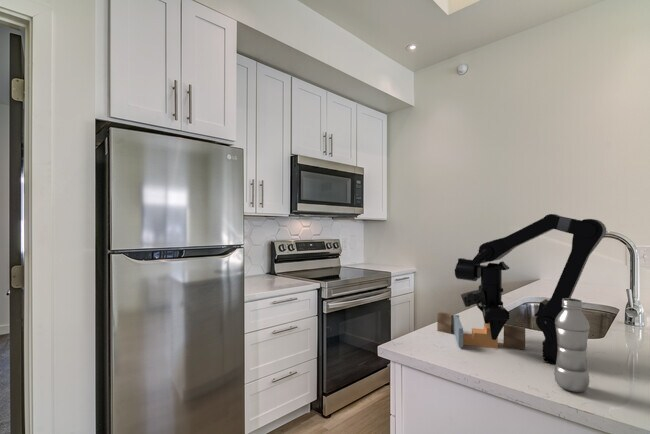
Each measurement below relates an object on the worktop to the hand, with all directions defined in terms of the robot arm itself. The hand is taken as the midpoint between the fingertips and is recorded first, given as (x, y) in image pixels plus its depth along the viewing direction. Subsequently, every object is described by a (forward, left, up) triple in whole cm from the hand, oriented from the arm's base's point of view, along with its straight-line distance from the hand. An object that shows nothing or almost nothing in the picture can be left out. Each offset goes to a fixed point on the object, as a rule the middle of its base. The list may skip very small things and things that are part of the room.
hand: (490, 334), depth 105 cm
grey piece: (+9, +3, -3) cm, 10 cm away
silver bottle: (-22, +17, -3) cm, 28 cm away
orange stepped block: (+3, +1, -3) cm, 5 cm away
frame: (+5, -3, -3) cm, 6 cm away
